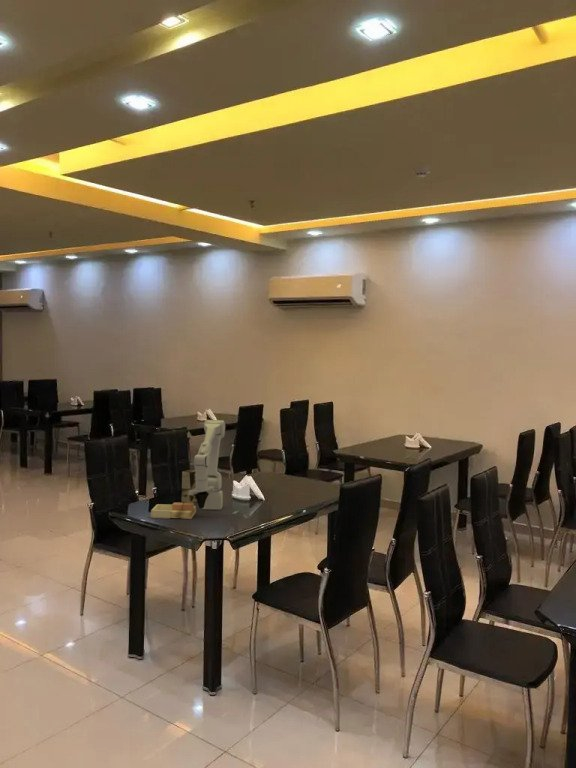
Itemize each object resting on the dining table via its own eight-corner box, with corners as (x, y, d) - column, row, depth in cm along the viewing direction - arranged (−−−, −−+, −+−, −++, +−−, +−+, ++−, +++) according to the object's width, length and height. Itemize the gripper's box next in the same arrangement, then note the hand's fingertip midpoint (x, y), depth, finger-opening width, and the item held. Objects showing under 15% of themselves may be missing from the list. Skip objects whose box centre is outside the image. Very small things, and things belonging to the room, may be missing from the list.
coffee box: (191, 503, 319) (191, 472, 318) (181, 502, 322) (181, 471, 322) (201, 500, 327) (202, 469, 326) (192, 498, 330) (192, 468, 330)
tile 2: (193, 508, 297) (193, 502, 297) (192, 510, 293) (192, 505, 293) (184, 507, 297) (184, 502, 297) (182, 510, 293) (182, 504, 293)
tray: (175, 511, 302) (175, 504, 301) (170, 518, 289) (170, 510, 289) (156, 511, 302) (157, 504, 301) (150, 518, 289) (150, 510, 289)
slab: (195, 512, 302) (196, 505, 301) (191, 518, 289) (191, 512, 288) (175, 511, 302) (175, 505, 302) (170, 518, 289) (170, 512, 289)
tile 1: (183, 507, 297) (183, 502, 297) (181, 510, 293) (181, 504, 293) (174, 507, 297) (174, 502, 297) (172, 509, 293) (172, 504, 293)
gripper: (207, 476, 302) (206, 503, 303) (184, 480, 291) (184, 509, 292) (217, 478, 298) (216, 506, 299) (194, 482, 287) (194, 511, 287)
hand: (201, 507), depth 295 cm, fingers closed
